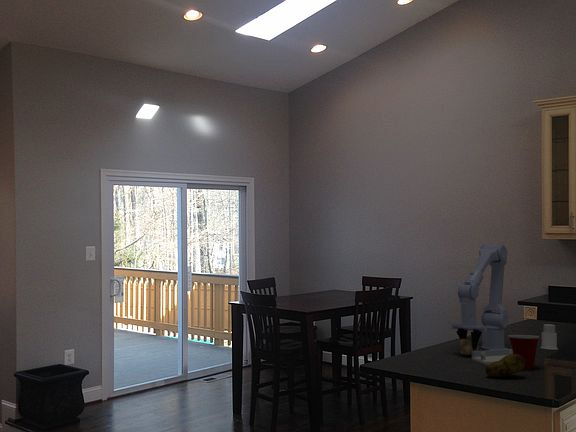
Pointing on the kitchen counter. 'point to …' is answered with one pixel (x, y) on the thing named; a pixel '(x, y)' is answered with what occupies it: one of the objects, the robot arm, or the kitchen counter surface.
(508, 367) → the potato
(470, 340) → the brown tapered block
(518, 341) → the plastic cup
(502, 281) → the robot arm
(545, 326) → the white threaded pipe fitting
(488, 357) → the board
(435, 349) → the kitchen counter surface
